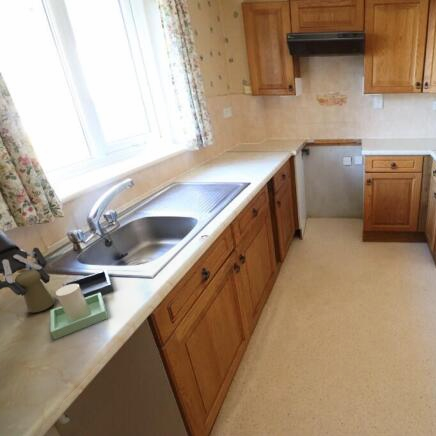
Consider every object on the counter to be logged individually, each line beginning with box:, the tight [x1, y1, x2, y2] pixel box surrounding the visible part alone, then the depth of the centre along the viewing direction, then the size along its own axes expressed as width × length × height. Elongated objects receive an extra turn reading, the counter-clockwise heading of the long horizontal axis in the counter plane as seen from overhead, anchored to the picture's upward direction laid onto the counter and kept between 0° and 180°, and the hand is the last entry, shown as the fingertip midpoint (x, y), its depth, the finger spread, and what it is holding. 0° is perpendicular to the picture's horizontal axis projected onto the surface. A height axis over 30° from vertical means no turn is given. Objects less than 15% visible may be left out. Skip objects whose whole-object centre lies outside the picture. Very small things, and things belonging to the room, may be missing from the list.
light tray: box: [49, 293, 109, 340], centre depth 87 cm, size 12×11×2 cm
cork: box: [14, 270, 56, 313], centre depth 90 cm, size 6×6×11 cm
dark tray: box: [62, 269, 115, 298], centre depth 98 cm, size 12×11×2 cm
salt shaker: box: [55, 284, 91, 322], centre depth 85 cm, size 5×5×9 cm
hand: (36, 287), depth 89 cm, fingers closed on cork, 5 cm apart
